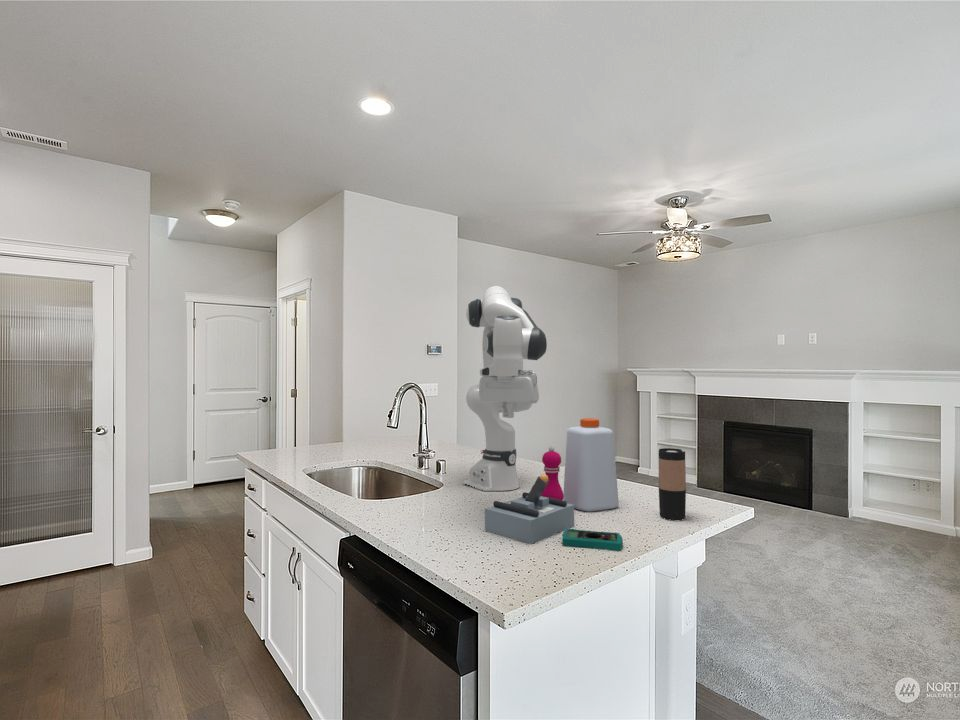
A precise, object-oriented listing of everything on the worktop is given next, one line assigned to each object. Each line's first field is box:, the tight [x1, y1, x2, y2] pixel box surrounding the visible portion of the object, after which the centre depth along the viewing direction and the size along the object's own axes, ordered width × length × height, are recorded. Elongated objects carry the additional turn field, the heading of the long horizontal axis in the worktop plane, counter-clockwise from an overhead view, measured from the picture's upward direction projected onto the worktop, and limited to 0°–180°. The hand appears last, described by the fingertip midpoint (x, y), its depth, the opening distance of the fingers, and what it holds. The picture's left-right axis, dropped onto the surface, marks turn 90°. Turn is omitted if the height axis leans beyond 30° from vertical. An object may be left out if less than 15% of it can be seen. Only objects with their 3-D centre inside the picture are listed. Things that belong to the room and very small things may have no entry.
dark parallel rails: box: [492, 492, 567, 517], centre depth 140 cm, size 16×15×2 cm
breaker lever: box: [525, 473, 549, 505], centre depth 139 cm, size 2×3×11 cm
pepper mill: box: [541, 445, 564, 501], centre depth 158 cm, size 7×7×20 cm
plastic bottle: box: [563, 417, 619, 512], centre depth 164 cm, size 15×15×28 cm
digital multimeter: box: [561, 528, 624, 552], centre depth 128 cm, size 7×15×3 cm, turn 75°
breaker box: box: [484, 496, 575, 545], centre depth 140 cm, size 16×20×8 cm
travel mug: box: [658, 447, 687, 521], centre depth 150 cm, size 8×8×20 cm
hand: (508, 417), depth 146 cm, fingers closed
